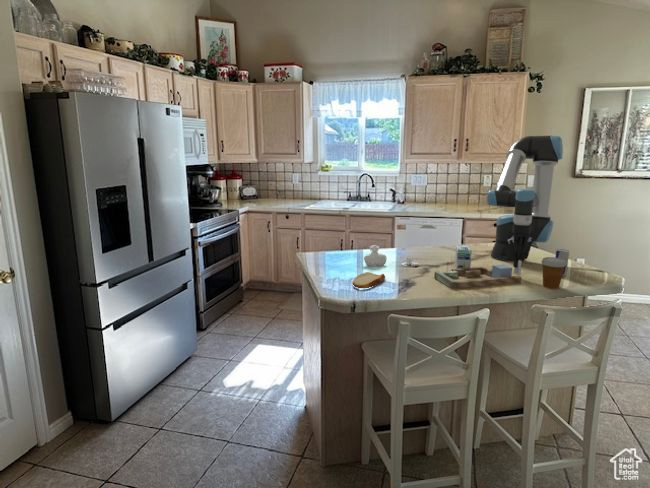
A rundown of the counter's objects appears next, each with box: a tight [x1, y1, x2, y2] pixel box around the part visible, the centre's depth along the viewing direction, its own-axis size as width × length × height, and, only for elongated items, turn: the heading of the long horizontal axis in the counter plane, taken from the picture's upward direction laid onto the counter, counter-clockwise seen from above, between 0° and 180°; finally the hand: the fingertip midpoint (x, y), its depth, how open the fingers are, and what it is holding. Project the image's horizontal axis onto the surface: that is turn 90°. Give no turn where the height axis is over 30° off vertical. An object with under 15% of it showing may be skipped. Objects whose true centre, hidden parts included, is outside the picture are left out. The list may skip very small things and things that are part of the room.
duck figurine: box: [363, 244, 388, 267], centre depth 223 cm, size 12×8×11 cm
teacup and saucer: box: [401, 256, 419, 267], centre depth 224 cm, size 9×8×4 cm
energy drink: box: [555, 248, 570, 278], centre depth 204 cm, size 5×5×12 cm
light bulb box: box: [454, 244, 473, 269], centre depth 216 cm, size 11×7×11 cm, turn 168°
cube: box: [491, 263, 513, 278], centre depth 199 cm, size 6×6×6 cm
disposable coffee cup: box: [541, 256, 566, 290], centre depth 188 cm, size 10×10×12 cm
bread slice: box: [352, 271, 386, 288], centre depth 195 cm, size 18×18×4 cm
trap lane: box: [433, 266, 522, 289], centre depth 199 cm, size 34×19×3 cm, turn 104°
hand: (517, 273), depth 202 cm, fingers closed
